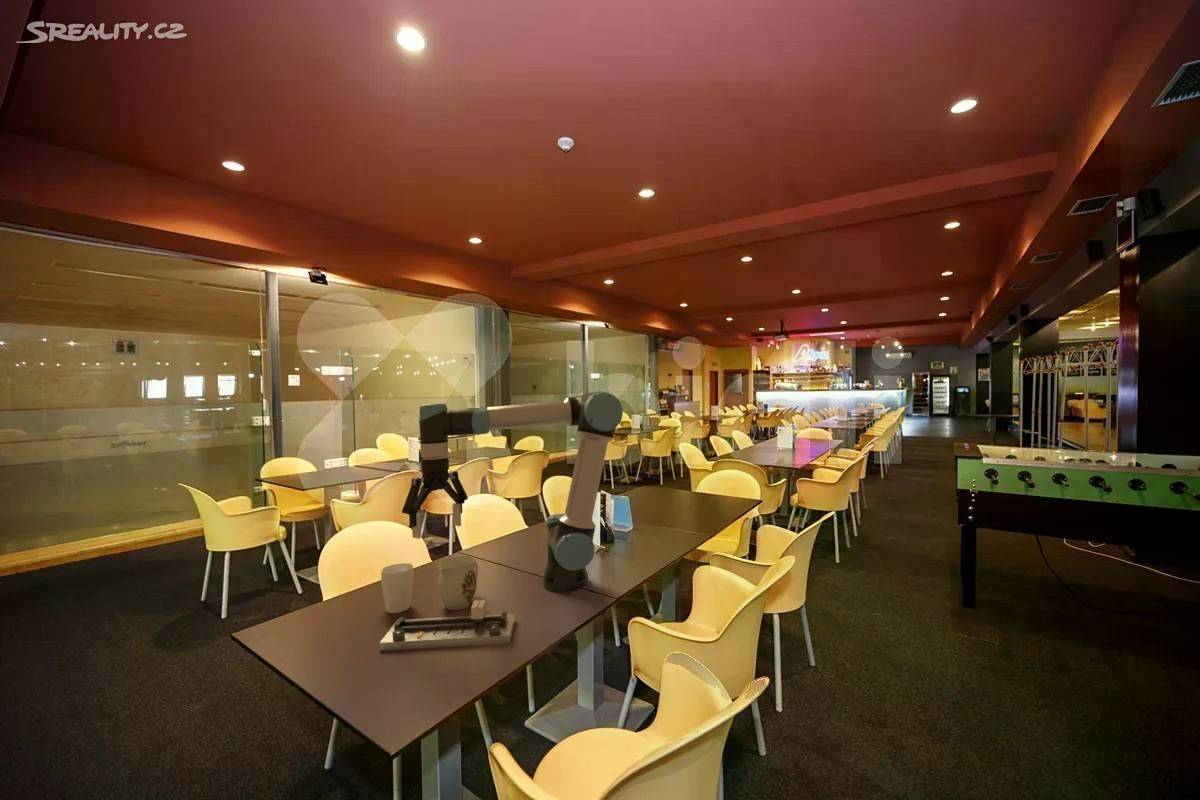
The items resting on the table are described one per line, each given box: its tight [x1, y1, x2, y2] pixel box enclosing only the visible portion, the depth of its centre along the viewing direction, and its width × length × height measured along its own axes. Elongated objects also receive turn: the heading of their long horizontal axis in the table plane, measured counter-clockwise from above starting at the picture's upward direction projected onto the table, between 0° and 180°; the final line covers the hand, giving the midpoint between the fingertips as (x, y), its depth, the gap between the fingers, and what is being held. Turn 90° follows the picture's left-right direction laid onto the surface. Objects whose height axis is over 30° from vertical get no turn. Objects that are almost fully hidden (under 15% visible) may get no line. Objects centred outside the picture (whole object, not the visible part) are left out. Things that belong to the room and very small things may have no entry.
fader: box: [470, 599, 487, 623], centre depth 125 cm, size 3×4×5 cm, turn 4°
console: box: [379, 611, 516, 652], centre depth 123 cm, size 32×12×4 cm, turn 94°
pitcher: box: [437, 555, 479, 611], centre depth 142 cm, size 11×18×14 cm, turn 161°
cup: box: [380, 562, 415, 614], centre depth 140 cm, size 9×9×12 cm
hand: (437, 531), depth 134 cm, fingers open, 13 cm apart
